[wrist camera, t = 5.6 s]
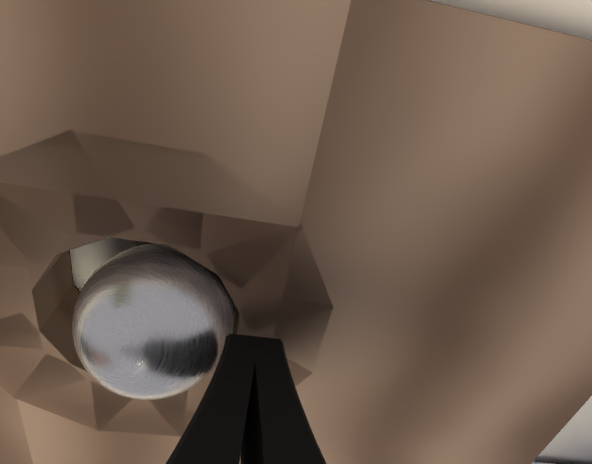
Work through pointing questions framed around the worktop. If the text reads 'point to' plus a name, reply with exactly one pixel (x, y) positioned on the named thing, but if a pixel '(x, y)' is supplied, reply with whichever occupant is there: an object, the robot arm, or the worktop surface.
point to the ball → (151, 322)
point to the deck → (305, 215)
